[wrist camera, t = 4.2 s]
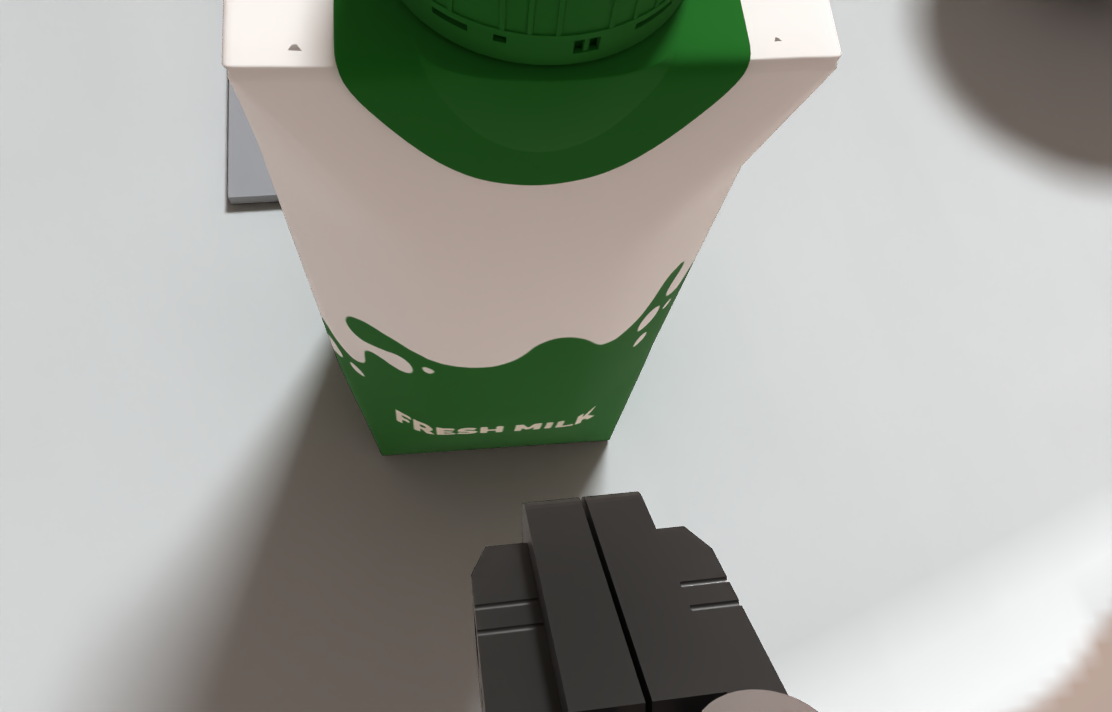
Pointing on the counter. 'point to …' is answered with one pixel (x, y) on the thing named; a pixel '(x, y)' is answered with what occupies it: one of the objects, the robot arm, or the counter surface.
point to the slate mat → (245, 160)
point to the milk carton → (509, 187)
